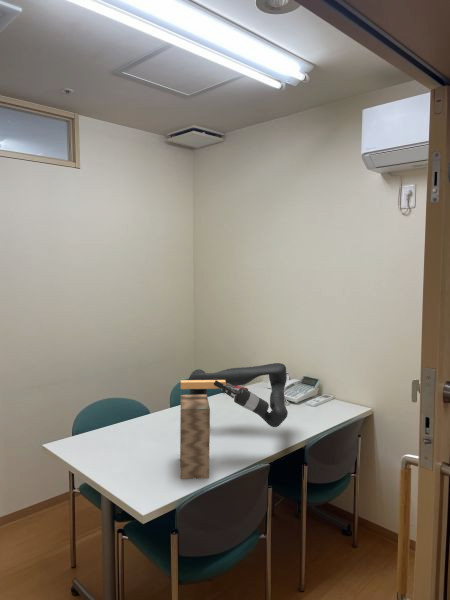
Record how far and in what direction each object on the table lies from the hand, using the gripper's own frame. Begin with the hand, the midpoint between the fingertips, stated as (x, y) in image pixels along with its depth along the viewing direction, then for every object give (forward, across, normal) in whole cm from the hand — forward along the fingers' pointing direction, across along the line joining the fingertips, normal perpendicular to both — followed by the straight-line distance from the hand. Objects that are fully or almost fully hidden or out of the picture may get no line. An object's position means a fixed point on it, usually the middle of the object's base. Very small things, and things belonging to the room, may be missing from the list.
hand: (214, 381), depth 200 cm
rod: (+3, 0, +5) cm, 6 cm away
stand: (-11, +5, +37) cm, 39 cm away
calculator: (-40, -106, +21) cm, 116 cm away
